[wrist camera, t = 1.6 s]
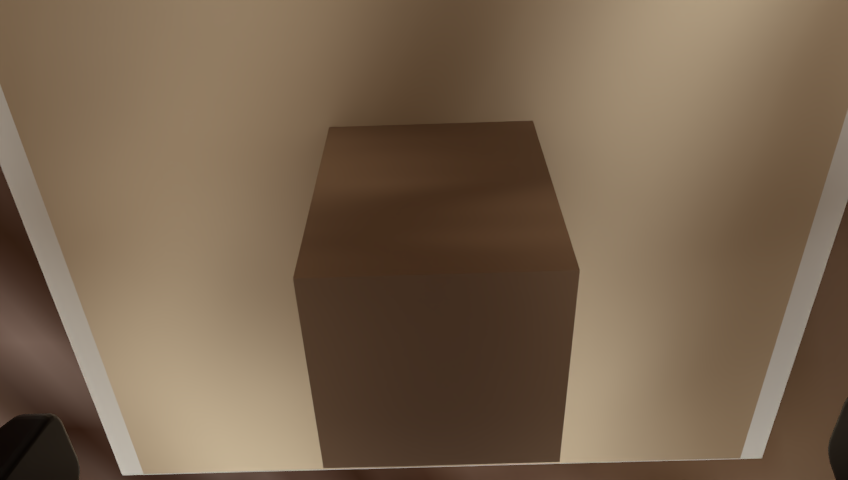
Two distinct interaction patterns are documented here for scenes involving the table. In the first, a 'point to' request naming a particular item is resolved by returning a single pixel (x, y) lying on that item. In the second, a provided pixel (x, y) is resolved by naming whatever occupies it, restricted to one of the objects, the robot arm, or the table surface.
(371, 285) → the beige square tray
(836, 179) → the mat
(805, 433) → the table surface
